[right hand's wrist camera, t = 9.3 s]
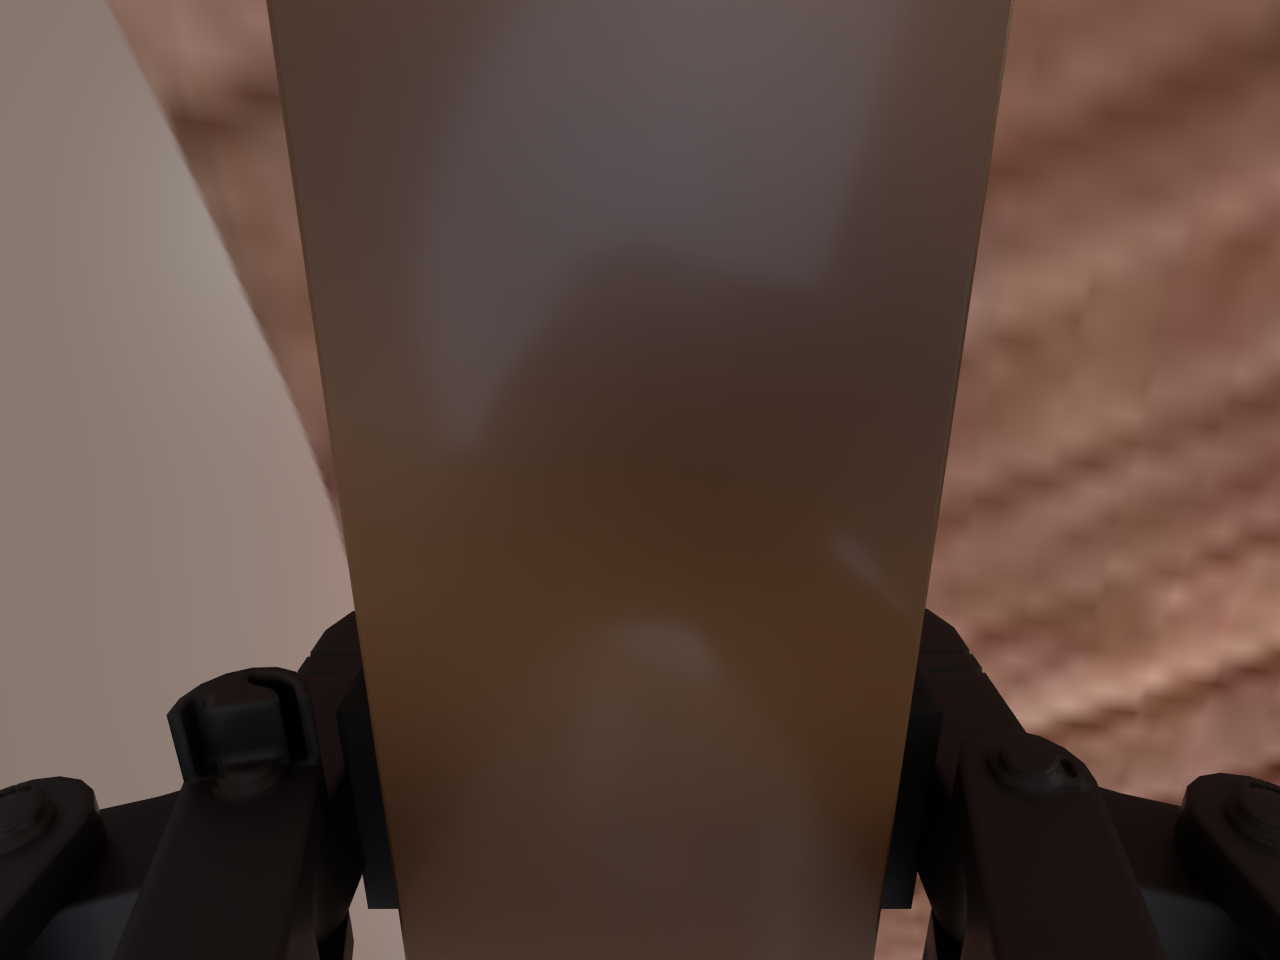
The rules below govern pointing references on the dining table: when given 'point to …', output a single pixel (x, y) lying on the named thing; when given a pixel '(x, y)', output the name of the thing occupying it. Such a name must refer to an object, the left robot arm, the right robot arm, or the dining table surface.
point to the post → (639, 443)
